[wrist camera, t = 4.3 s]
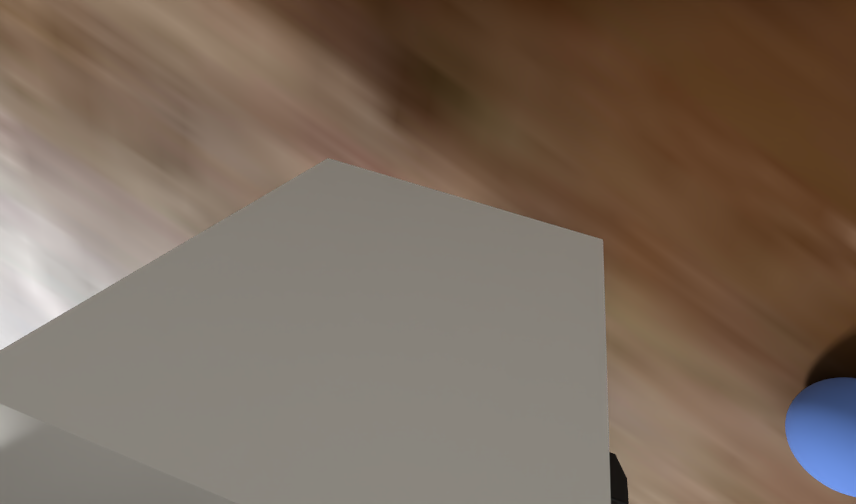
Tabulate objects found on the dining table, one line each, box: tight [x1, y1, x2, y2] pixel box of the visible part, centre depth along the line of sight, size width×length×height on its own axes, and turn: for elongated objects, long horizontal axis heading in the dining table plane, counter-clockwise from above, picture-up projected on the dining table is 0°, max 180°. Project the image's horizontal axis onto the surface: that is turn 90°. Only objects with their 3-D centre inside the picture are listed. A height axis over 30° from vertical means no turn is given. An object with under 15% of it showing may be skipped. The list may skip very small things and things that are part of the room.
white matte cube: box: [0, 158, 611, 504], centre depth 10 cm, size 7×7×9 cm
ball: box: [785, 377, 856, 497], centre depth 23 cm, size 5×5×5 cm
